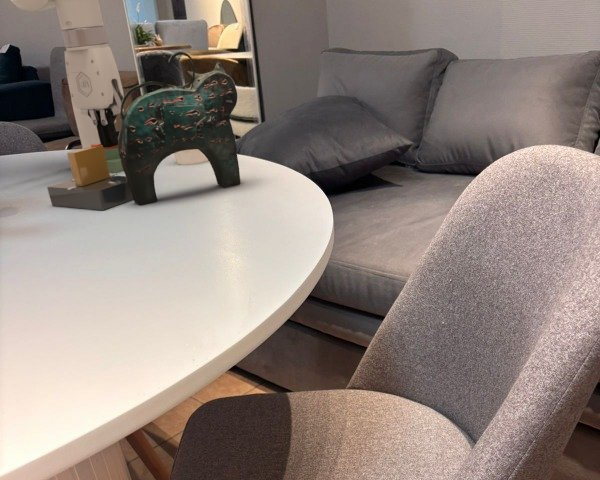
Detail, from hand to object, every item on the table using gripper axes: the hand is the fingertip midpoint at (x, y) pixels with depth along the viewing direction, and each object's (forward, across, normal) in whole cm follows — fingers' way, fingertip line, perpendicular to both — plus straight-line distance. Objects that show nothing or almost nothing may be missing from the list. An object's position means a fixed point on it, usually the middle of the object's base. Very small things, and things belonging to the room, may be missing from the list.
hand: (110, 145), depth 126 cm
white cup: (+4, +14, +8) cm, 17 cm away
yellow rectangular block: (+1, +18, -21) cm, 28 cm away
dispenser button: (+2, 0, 0) cm, 2 cm away
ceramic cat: (+4, +31, -13) cm, 34 cm away
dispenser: (+4, 0, 0) cm, 4 cm away
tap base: (+4, +18, -21) cm, 28 cm away
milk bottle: (+4, -14, +10) cm, 18 cm away
